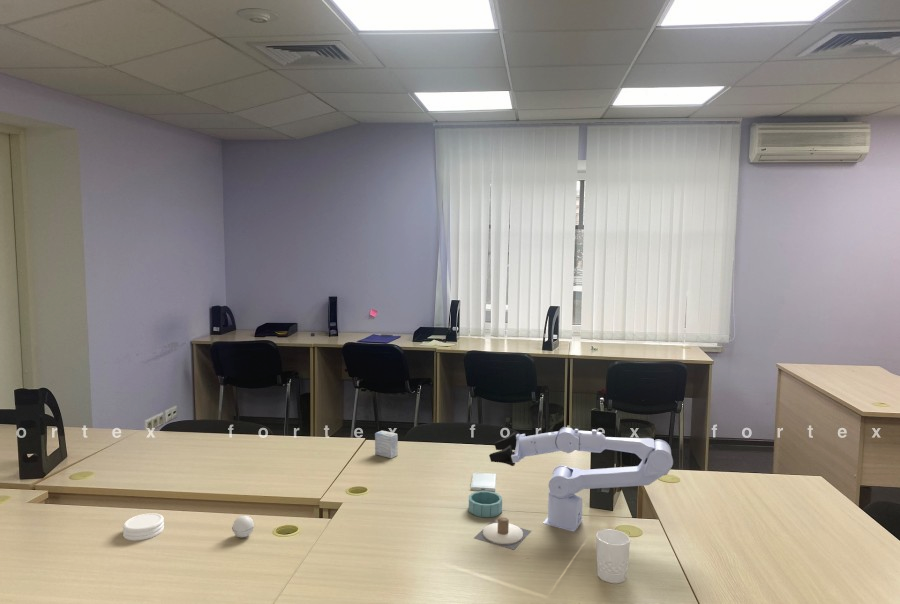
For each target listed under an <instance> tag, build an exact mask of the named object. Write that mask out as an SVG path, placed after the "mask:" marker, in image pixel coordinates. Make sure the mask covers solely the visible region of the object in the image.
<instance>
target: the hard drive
mask: <svg viewBox="0 0 900 604" xmlns="http://www.w3.org/2000/svg"><path fill="white" fill-rule="evenodd" d="M471 477H472V479H471V482H470V491H490V492H496V487H497V474H496V473H488V472H487V473H485V472H472V476H471Z"/></svg>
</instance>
